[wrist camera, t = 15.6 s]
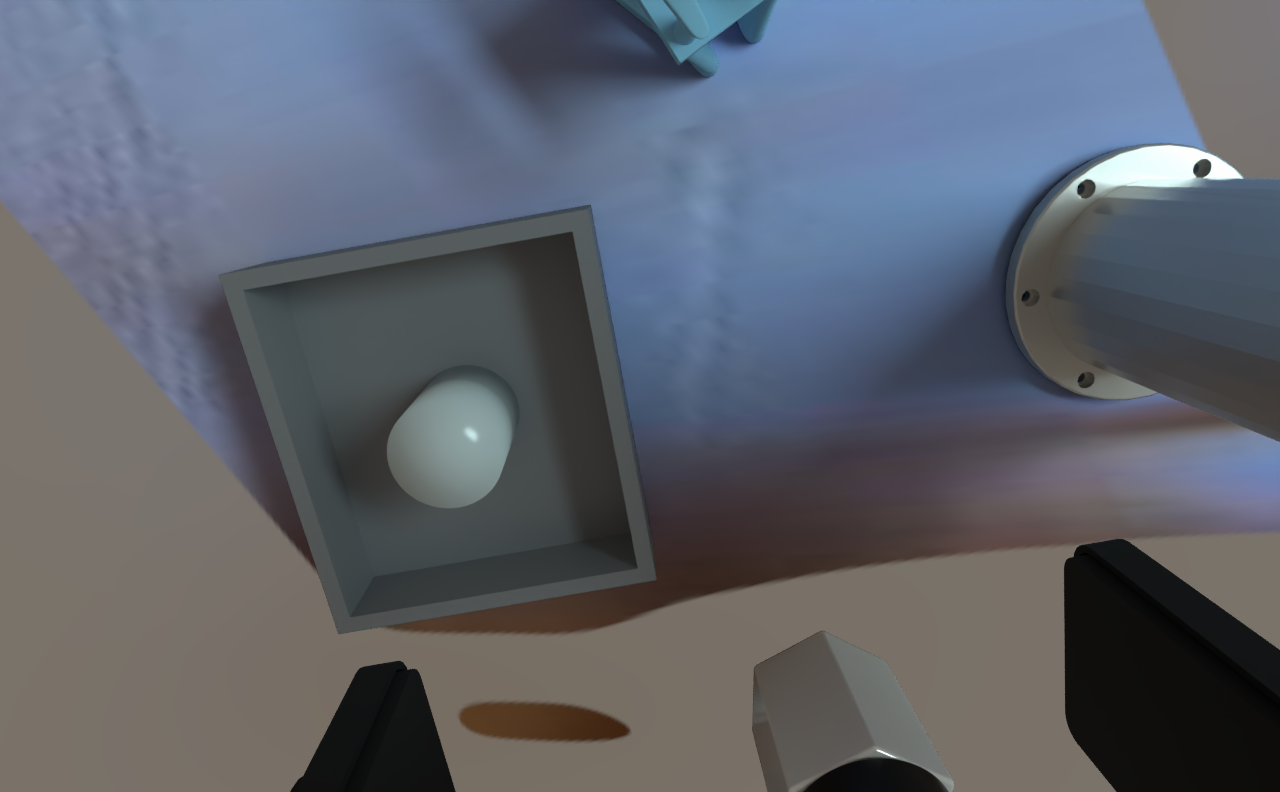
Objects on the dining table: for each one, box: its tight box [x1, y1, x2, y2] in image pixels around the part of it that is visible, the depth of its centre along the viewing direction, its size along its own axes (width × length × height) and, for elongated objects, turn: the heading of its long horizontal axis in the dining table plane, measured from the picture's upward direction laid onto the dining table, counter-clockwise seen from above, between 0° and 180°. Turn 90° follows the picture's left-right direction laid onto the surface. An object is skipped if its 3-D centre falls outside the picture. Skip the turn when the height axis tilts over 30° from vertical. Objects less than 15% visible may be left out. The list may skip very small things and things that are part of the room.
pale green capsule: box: [387, 365, 519, 508], centre depth 35 cm, size 5×5×6 cm
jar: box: [752, 631, 954, 792], centre depth 39 cm, size 9×8×12 cm
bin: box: [219, 205, 657, 634], centre depth 37 cm, size 16×18×4 cm
